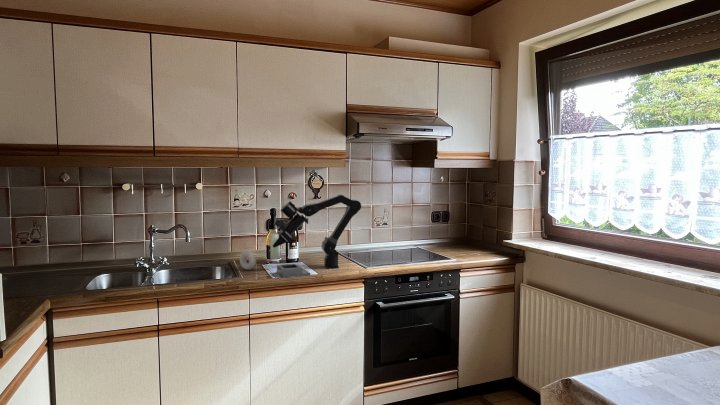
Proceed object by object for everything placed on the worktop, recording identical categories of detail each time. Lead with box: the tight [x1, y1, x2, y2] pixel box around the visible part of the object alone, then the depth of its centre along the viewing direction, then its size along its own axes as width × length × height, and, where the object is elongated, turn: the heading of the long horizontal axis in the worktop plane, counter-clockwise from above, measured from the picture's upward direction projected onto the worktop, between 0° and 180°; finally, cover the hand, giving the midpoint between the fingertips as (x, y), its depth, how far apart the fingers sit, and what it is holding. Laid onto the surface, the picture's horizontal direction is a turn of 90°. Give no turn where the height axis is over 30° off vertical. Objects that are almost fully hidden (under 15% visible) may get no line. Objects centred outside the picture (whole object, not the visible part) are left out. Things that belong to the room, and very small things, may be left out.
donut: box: [239, 250, 257, 271], centre depth 229 cm, size 10×4×10 cm, turn 58°
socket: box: [275, 263, 311, 279], centre depth 223 cm, size 14×11×4 cm
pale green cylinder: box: [269, 232, 281, 261], centre depth 229 cm, size 5×5×13 cm
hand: (272, 245), depth 229 cm, fingers closed on pale green cylinder, 5 cm apart
